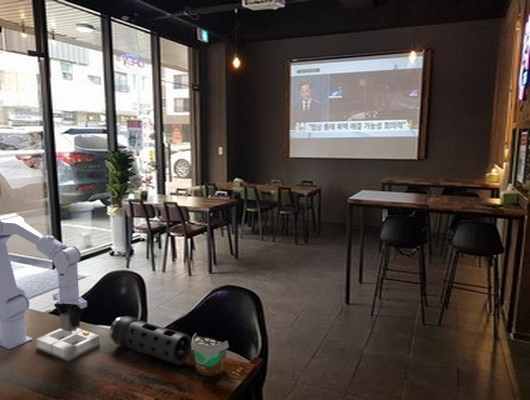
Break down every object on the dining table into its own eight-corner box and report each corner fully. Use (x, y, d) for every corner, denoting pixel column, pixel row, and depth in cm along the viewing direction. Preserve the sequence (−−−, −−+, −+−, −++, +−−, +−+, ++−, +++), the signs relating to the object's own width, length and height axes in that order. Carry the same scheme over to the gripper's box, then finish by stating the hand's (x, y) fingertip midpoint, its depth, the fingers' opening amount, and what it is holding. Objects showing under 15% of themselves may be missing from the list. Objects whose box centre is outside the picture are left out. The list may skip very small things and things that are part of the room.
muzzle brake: (172, 373, 124) (172, 341, 122) (108, 350, 137) (106, 320, 136) (192, 359, 132) (192, 329, 131) (130, 338, 145) (128, 310, 144)
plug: (61, 331, 135) (60, 314, 134) (72, 326, 138) (71, 309, 137) (69, 334, 133) (68, 316, 132) (80, 329, 136) (79, 312, 135)
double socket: (36, 348, 137) (36, 337, 137) (69, 334, 148) (68, 323, 147) (68, 361, 130) (67, 349, 129) (99, 345, 140) (99, 333, 140)
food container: (183, 371, 125) (182, 340, 123) (195, 361, 130) (194, 332, 129) (218, 382, 120) (217, 349, 118) (228, 371, 125) (228, 340, 124)
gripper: (43, 284, 133) (45, 324, 135) (72, 292, 126) (74, 334, 128) (62, 278, 139) (65, 316, 141) (91, 285, 132) (93, 325, 134)
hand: (71, 324), depth 135 cm, fingers closed on plug, 4 cm apart
